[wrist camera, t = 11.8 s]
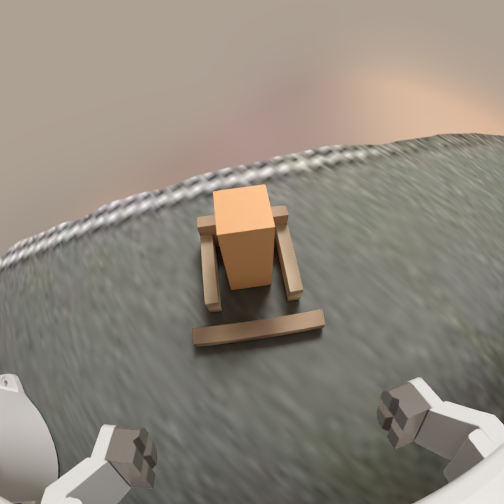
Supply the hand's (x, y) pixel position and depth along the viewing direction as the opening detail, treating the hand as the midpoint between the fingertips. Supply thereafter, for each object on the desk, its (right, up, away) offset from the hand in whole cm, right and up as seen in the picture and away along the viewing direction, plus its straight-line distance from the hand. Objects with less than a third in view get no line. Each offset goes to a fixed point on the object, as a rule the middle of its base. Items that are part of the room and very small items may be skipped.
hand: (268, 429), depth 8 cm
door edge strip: (0, -2, +18) cm, 18 cm away
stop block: (-1, +4, +21) cm, 22 cm away
